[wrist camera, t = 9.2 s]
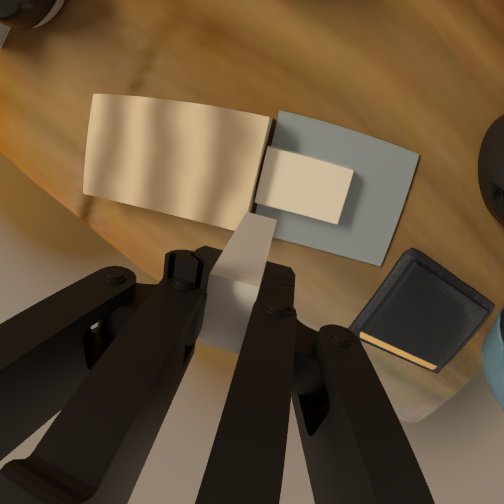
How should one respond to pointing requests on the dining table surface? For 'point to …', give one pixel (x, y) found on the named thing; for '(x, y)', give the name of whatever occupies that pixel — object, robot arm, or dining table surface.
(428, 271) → the dark grey flat slab
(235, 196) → the riser
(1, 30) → the tea box
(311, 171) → the cream rectangular block
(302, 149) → the mat
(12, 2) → the pump dispenser
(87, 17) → the dining table surface
